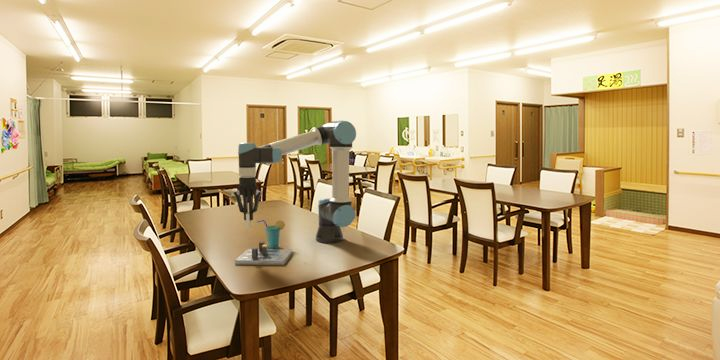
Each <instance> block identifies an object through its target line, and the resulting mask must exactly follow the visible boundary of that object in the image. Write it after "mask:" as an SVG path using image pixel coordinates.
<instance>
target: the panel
mask: <svg viewBox="0 0 720 360" xmlns="http://www.w3.org/2000/svg"><path fill="white" fill-rule="evenodd" d="M265 243H266V242H265V241H259V242H258V247H253V248H247V249H246V250H245V251H244V252H243V253H241V254H240V255H239V256H238V257H237V258H235V260H234V265H239V266H241V265H242V266H243V265H245V266H250V265H251V266H255V265H256V266H285V264H287V262H288V260H289V259H290V257H291V256H292V255H293V249H288V248H287V249H285V248H284V249H283V248H282V249H281V248H279V249H278V248H275V249H270V248H268V253H267V254H262V245H266V244H265Z"/></svg>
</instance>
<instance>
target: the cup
mask: <svg viewBox="0 0 720 360" xmlns="http://www.w3.org/2000/svg"><path fill="white" fill-rule="evenodd" d="M261 222H262V223H264V226H265V228H264V230H265V232H266V233H265V235H266V242H267V245H268V249H278V248H279V245H280V231H281V230H283V229H285V226H286V223H285V222H284V221H283V220H281V219H279V220H276V221H275V223H274V225H268V224H267V221H266V219H265V220H264V219H260V220H257V221H256V223H261Z"/></svg>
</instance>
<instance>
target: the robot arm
mask: <svg viewBox="0 0 720 360" xmlns="http://www.w3.org/2000/svg"><path fill="white" fill-rule="evenodd" d="M356 137H357V129H356V128H355V126H354V124H353V123H352V122H350V121H347V120H335V121H334V120H333V121H329V122H327V123H324V124H322V125H320V126H317V127H313V130H310V131H307V132H304V133H300V134H296V135H294V136H291V137H287V138H284V139H280V140H277V141H274V142H271V143H270V142H269V143H267V144H264V145H261V146H260V145H258V146H256V143H255V142H240V143H239V144H238V151H237V153H238V155H237V156H238V176H239V179H238V181H239V182H238V183H239V184H238V185H239V187H238V190H236V191H234V192H233V195H234V196H235V198H236V202H237V206H238V210H239V212H240V213H242V214H243V219H244V221H245V226H246V227H245V228H247V229H250V228H251V227H252V221H253V220H254V213H256V212H257V211H258V207H259V202H260V198H261V196H262V195H263V191H260V190H258V187H257V177H256V176H257V168H256V166H257V164H278V163H280V162H281V161H282V158H283V155H288V154H291V153H295V152H297V151H300V150H304V149H307V148H310V147H313V146H317V145H318V146H322V145H327V144H329V149H331V151H332V158H331V159H332V167H331V168H332V169H331V170H332V172H331V173H332V175H331V176H332V177H331V178H332V180H331V181H332V183H331V186H332V187H331V189H332V190H331V193H332V194H331V195H332V196H331V198H320V199H319V200H318V209H317V210H318V228H317V231H316V234H315V241H316V242H318V243H324V244H329V243H330V244H331V243H333V244H334V243H338V242H342V241H344V234H343V231H342V228H344V227H348V226H350V225H351V224H352V223H353V222H354V220H355V219H356V218H355V217H356V211H355V208H353V206H352V205H353V203H352V202H353V201H352V199H351V198H350V197H349V195H350V194H349V193H350V151H351V149H353V142H354V141H355V140H356ZM254 195H256V196H255V200H254ZM241 196H242V198H241Z"/></svg>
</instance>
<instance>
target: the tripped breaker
mask: <svg viewBox="0 0 720 360" xmlns="http://www.w3.org/2000/svg"><path fill="white" fill-rule="evenodd" d="M268 249H269V248H268V244H265V245H262V254H267V253H268Z"/></svg>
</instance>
